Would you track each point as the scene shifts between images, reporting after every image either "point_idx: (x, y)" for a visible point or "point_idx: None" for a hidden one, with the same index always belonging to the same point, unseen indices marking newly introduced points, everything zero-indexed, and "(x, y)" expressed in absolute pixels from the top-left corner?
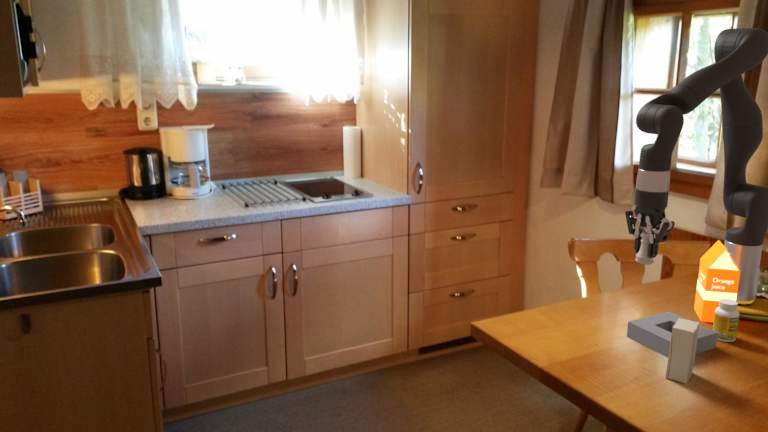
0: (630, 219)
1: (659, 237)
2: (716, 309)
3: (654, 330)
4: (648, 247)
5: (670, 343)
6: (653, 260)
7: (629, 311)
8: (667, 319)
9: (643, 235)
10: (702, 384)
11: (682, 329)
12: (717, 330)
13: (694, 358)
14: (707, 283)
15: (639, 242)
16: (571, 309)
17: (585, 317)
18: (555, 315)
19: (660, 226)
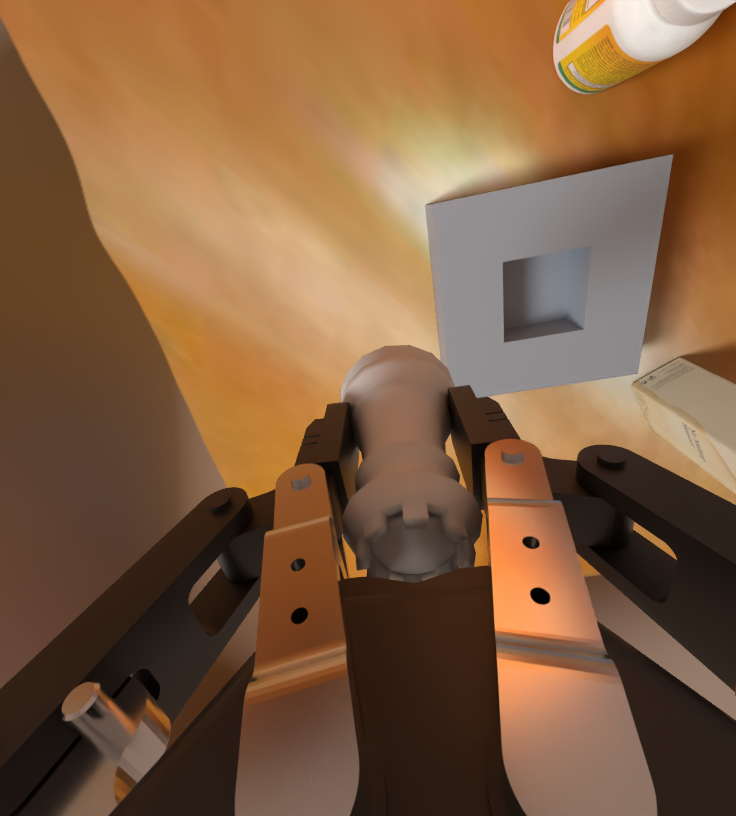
0: (170, 713)
1: (639, 572)
2: (636, 38)
3: (536, 369)
4: (466, 483)
5: (727, 487)
6: (429, 358)
7: (281, 254)
8: (490, 267)
9: (426, 575)
10: (727, 373)
11: None
12: (614, 84)
13: (714, 374)
14: None
15: (352, 489)
16: (240, 417)
17: (300, 411)
18: (274, 471)
19: (576, 572)
